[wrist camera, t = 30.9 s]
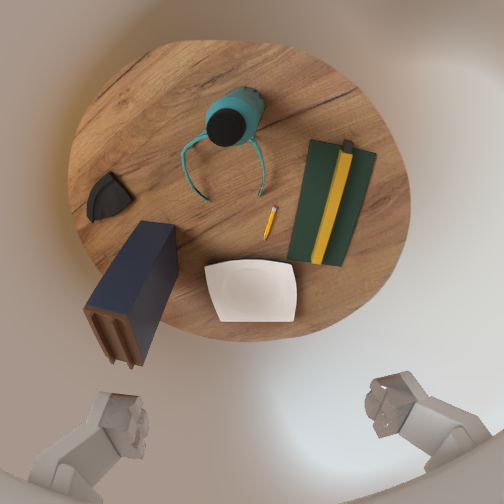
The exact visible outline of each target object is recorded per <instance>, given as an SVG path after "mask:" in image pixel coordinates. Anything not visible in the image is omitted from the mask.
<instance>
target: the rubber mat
mask: <svg viewBox="0 0 504 504" xmlns="http://www.w3.org/2000/svg"><path fill="white" fill-rule="evenodd" d="M342 147H343V146H341V145H336V144H331V143H325V142H320V141H315V140H310V146H309V151H308V157H307V162H306V167H305V173H304V178H303V183H302V188H301V193H300V198H299V203H298V208H297V213H296V218H295V223H294V228H293V232H292V237H291V242H290V246H289V251H288V256H287V259H288V260H296V261H303V262H310V263H311V255H312V252H313V249H314V245H315V242H316V238H317V235H318V231H319V228H320V224H321V221H322V217H323V213H324V210H325V206H326V202H327V198H328V195H329V191H330V187H331V183H332V179H333V175H334V171H335V167H336V163H337V159H338V155H339V151H340V149H342ZM351 153H352V155H353V157H352V160H351V164H350V168H349V172H348V175H347V179H346V183H345V186H344V190H343V193H342V197H341V200H340V204H339V207H338V211H337V214H336V217H335V221H334V224H333V227H332V231H331V234H330V237H329V240H328V243H327V246H326V250H325V253H324V256H323V259H322V262H321V264H325V265H332V266H339V267H341V264H342V262H343V259H344V256H345V253H346V251H347V248H348V245H349V242H350V239H351V236H352V233H353V230H354V227H355V224H356V221H357V218H358V215H359V212H360V209H361V205H362V202H363V199H364V196H365V192H366V189H367V186H368V182H369V179H370V175H371V172H372V168H373V165H374V161H375V157H376V153H372V152H368V151H363V150H359V149H355V148H352V152H351Z"/></svg>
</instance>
